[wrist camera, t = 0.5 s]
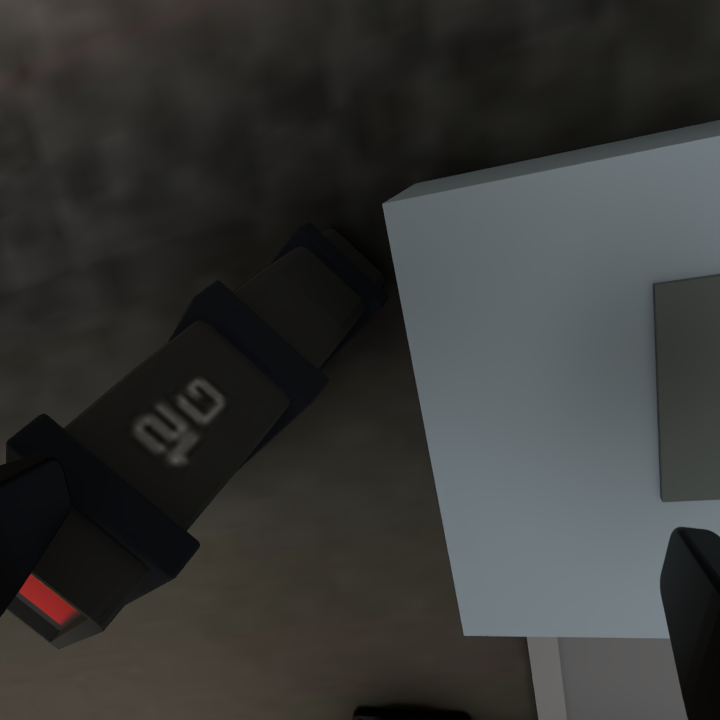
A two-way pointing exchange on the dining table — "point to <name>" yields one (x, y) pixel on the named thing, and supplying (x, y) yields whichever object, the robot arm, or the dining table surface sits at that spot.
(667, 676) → the tray
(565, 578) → the box
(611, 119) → the dining table surface
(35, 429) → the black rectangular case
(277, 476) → the dining table surface
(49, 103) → the dining table surface
